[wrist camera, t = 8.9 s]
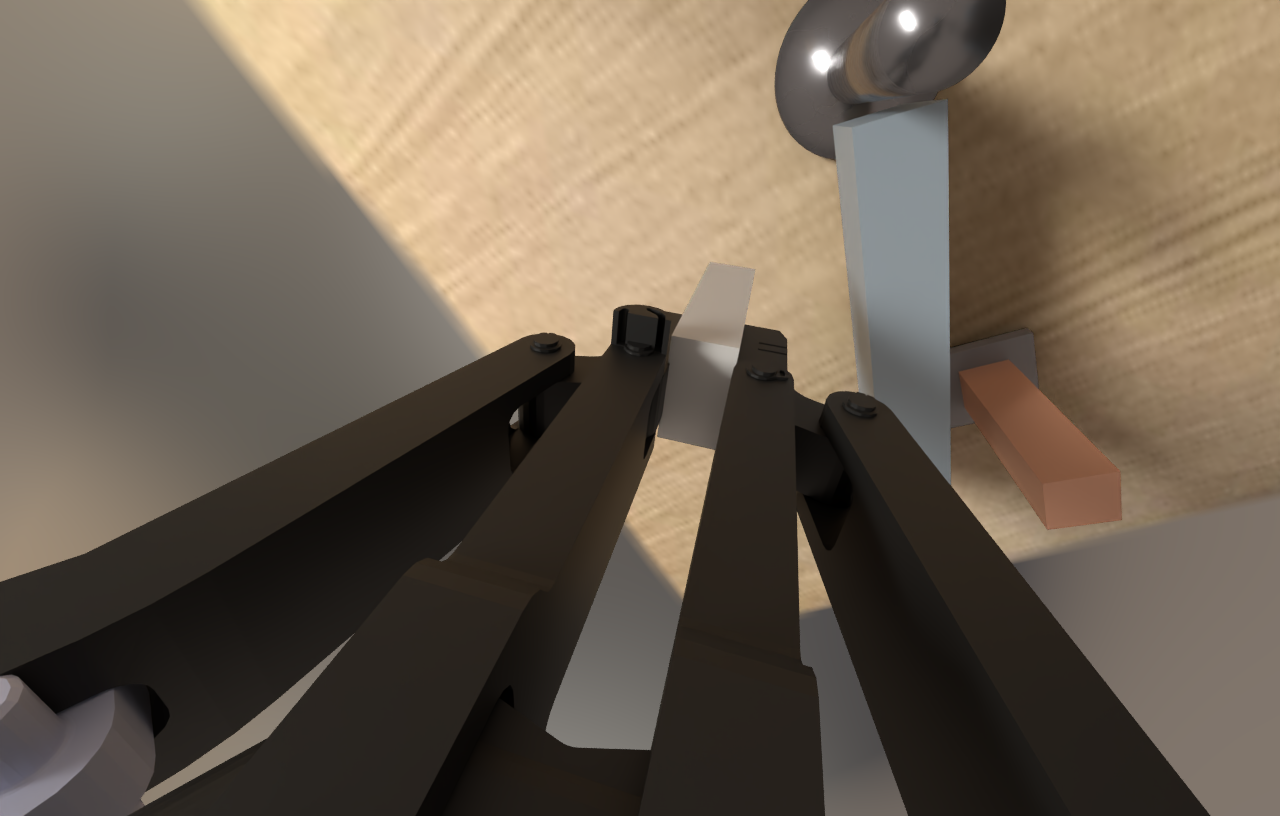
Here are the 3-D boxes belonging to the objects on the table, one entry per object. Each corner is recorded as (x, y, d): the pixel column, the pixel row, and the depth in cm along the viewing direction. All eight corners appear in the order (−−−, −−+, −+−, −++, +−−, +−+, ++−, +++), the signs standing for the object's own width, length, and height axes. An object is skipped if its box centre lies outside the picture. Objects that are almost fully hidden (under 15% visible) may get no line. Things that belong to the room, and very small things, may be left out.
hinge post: (929, -72, 17) (1131, -309, 7) (956, 117, 19) (1136, 117, 10) (755, 24, 19) (742, -65, 10) (798, 183, 21) (821, 234, 12)
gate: (827, 124, 20) (865, 129, 12) (894, 104, 19) (978, 96, 11) (860, 441, 26) (897, 573, 19) (910, 436, 26) (970, 571, 18)
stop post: (1027, 327, 22) (1162, 437, 14) (1035, 403, 24) (1161, 538, 16) (927, 354, 24) (1002, 466, 16) (941, 423, 25) (1015, 555, 18)
